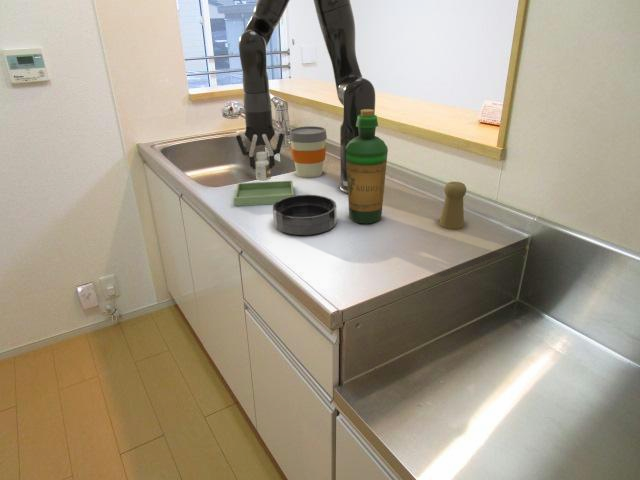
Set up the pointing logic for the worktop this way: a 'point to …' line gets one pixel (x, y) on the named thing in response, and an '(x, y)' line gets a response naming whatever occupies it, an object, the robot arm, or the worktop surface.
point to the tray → (262, 192)
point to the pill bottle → (262, 166)
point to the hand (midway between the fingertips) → (262, 167)
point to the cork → (453, 206)
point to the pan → (304, 214)
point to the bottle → (366, 170)
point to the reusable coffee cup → (308, 150)
